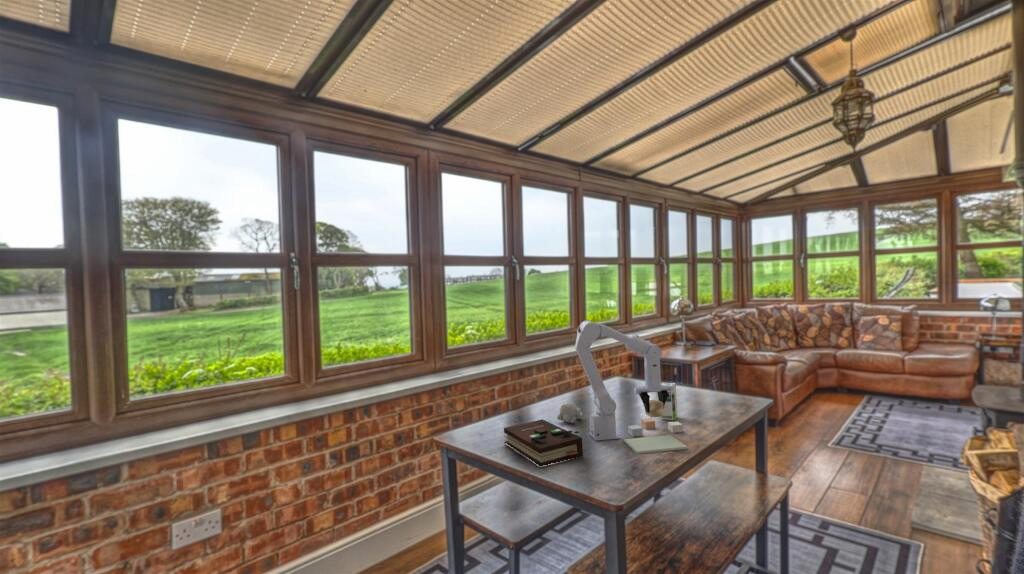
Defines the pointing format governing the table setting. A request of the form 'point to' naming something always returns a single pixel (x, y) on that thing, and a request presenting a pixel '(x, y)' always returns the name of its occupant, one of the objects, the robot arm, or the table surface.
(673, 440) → the sage board
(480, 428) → the table surface
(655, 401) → the maple block
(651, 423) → the terracotta block
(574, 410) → the toy rhinoceros
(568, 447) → the decorative book
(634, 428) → the grey-blue block
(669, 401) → the syrup box
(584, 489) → the table surface
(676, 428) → the light grey block
